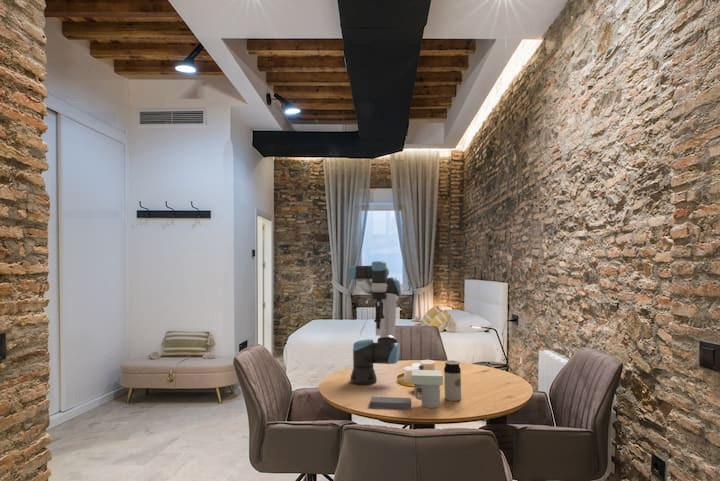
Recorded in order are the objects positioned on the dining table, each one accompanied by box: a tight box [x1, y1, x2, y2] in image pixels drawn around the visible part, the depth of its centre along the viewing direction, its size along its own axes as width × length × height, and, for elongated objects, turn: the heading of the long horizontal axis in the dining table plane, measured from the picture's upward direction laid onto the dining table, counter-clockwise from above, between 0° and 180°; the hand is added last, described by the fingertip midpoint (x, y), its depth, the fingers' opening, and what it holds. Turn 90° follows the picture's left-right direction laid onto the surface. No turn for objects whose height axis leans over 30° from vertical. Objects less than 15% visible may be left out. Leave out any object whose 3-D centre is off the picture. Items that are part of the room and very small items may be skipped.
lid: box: [411, 369, 444, 386], centre depth 192 cm, size 11×14×4 cm
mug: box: [413, 385, 441, 409], centre depth 192 cm, size 12×8×11 cm
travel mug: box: [443, 359, 462, 402], centre depth 201 cm, size 8×8×18 cm
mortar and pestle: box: [413, 364, 425, 393], centre depth 217 cm, size 11×9×12 cm
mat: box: [369, 396, 412, 410], centre depth 192 cm, size 8×19×2 cm, turn 83°
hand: (379, 333), depth 207 cm, fingers open, 13 cm apart
